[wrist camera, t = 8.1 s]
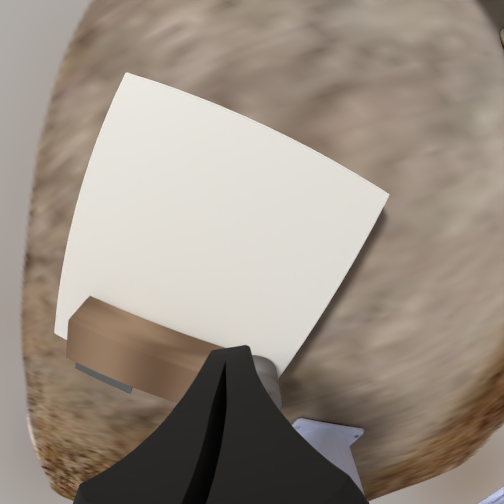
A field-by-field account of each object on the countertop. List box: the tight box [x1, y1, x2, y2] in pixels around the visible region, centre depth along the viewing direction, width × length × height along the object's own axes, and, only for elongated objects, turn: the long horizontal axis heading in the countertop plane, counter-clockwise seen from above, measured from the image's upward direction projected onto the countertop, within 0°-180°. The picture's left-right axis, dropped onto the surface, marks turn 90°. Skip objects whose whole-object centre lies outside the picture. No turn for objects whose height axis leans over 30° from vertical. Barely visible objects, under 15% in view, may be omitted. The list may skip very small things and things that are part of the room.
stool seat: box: [54, 73, 389, 393], centre depth 17 cm, size 18×16×4 cm
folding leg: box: [66, 296, 282, 410], centre depth 17 cm, size 13×3×3 cm, turn 67°
